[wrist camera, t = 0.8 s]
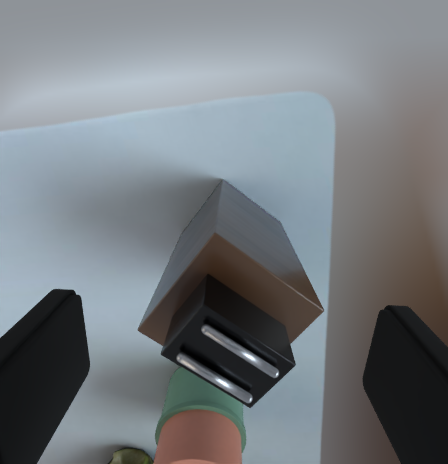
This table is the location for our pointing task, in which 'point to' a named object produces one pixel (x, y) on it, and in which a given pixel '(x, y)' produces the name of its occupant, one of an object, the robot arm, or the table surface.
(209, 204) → the clip stand
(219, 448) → the cup stack
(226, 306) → the clip
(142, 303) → the table surface
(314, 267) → the table surface
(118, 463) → the fruit
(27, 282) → the table surface
